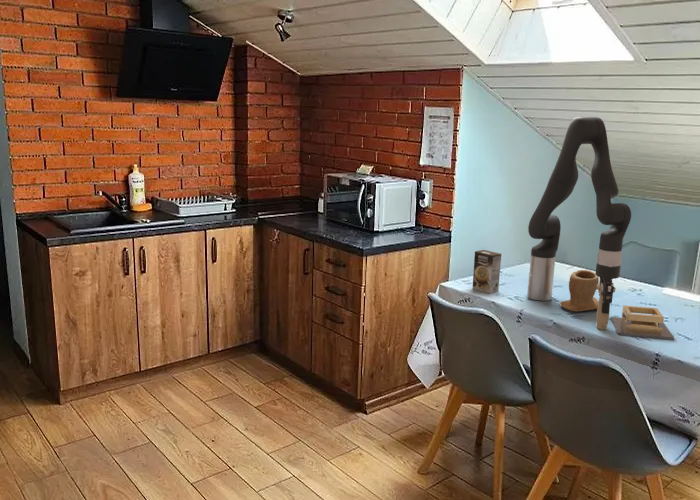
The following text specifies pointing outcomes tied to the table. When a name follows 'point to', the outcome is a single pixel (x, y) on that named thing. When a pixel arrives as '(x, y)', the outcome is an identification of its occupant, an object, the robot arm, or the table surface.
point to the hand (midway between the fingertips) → (603, 309)
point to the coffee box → (486, 271)
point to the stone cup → (582, 291)
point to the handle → (601, 318)
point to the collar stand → (641, 323)
